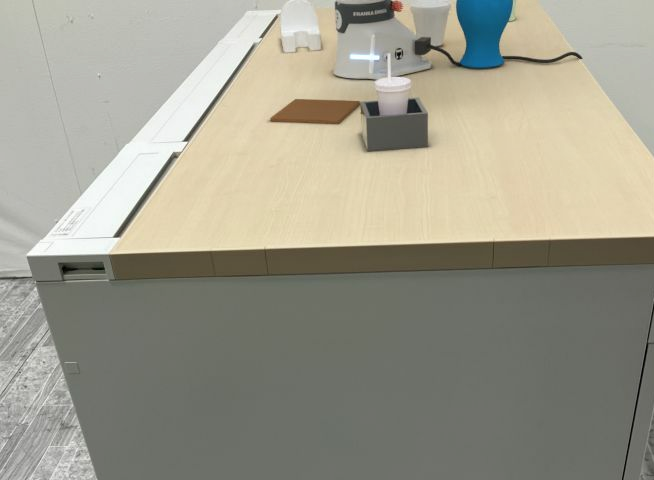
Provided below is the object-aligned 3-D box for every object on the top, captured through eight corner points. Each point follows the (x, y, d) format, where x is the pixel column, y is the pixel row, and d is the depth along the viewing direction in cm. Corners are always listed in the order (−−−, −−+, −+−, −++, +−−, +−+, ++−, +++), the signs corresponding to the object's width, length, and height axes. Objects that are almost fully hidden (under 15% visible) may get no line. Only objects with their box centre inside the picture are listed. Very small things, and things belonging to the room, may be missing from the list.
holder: (361, 133, 151) (360, 101, 148) (418, 129, 152) (418, 97, 148) (367, 151, 143) (366, 117, 140) (427, 146, 144) (427, 113, 140)
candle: (496, 21, 225) (497, -14, 220) (496, 18, 229) (498, -17, 224) (514, 21, 224) (516, -14, 219) (515, 17, 228) (517, -17, 223)
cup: (455, 42, 208) (457, -1, 202) (442, 51, 201) (442, 7, 195) (419, 40, 211) (419, -2, 205) (404, 49, 204) (403, 6, 198)
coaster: (295, 101, 171) (295, 98, 170) (359, 104, 167) (359, 100, 167) (270, 121, 161) (270, 118, 160) (338, 123, 157) (338, 120, 157)
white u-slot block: (316, 35, 222) (313, -9, 216) (321, 49, 208) (318, 3, 202) (281, 38, 222) (276, -6, 215) (283, 52, 208) (279, 6, 201)
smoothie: (374, 136, 150) (371, 50, 141) (409, 133, 150) (408, 47, 141) (377, 146, 145) (375, 58, 136) (413, 144, 145) (413, 56, 136)
